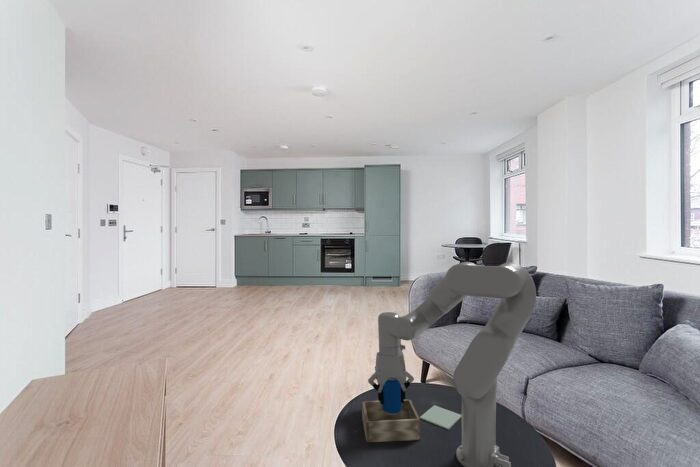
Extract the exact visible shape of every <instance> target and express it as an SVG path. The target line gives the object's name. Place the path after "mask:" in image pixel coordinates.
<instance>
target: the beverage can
mask: <svg viewBox="0 0 700 467" xmlns="http://www.w3.org/2000/svg"><path fill="white" fill-rule="evenodd" d="M382 392H383V405H382V407H383V411H384V412H386V413H387V414H390V415H395V414H398V413H399V412H400V411H401V410H402V405H401V384H400V382H399V381H398V380H397V378H396V379H387V381H386V382H385V384H384V385H383V389H382Z"/></svg>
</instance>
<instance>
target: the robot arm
mask: <svg viewBox="0 0 700 467" xmlns="http://www.w3.org/2000/svg"><path fill="white" fill-rule="evenodd" d="M467 297H479V298H493V299H500V301H499V303H498V305H497V306H496V307H495V309H494V312H493V313H492V315H491V316H490V318H489V320H488V321H487V323H486V325H484V326H483V327H482V329H481V330H479V331H478V333H476V335H475V336H474V338H473V339H472V340H471V342H470V344H469V345H468V347H467V348H466V350H465V353H463V356H462V357H461V359H460V360H459V362H458V364H457V366H456V367H455V369H454V372H453V377H452V379H453V385H454V387H455V390H456V391H457V392H458V393H459V395H461V415H462V417H461V445H459V446H458V447H457V448H456V451H455V453H456V459H457V461H458V462H459V463H460V464H461V466H463V467H512V462H511V461H510V457H509V456H507V455H504V454H501V452H500V447H499V446H498V445H497V443H496V442H497V441H496V440H497V438H496V437H497V428H496V426H497V421H496V420H497V417H496V416H497V390H498V376H499V374H500V373H501V371H502V370H503V368H504V366H505V365H506V363H507V361H508V360H509V358H510V356H511V354H512V352H513V350H514V348H515V345H516V342H517V340H518V339H519V337H520V335H521V334H522V332H523V330H524V329H525V326H526V325H527V323H528V321H529V320H530V318H531V316H532V314H533V312H534V309H535V306H536V302H537V289H536V284H535V281H534V280H533V278H532V275H530V273H529V272H528V270H527V269H526V268H525V267H524V266H522V265H521V264H519V263H516V262H504V263H501V264H500V265H477V264H475V263H474V262H470V261H462V262H459V263H457V264H454V265H452V266H450V268H449V269H448V270H447V272H446V273H445V276H444V277H443V278H442V279H440V281H438V283H436V284H435V285H433V287H432V288H431V289H430V290H429V291H428V297H427V298H426V299H425V300H424V301H423V302H422V303H420V305H419V306H417V307H416V308H415V309H414V310H412V312H409V313H407V314H406V315H403V316H400V314H398V313H397V312H393V311H392V312H391V311H386V312H382V313H380V314H379V315H378V316H377V318H378V319H377V322H378V323H377V326H378V331H377V332H378V352H376V356H375V366H376V369H375V368H374V371H375V372H374V373H373V374H371V376H370V377H369V378H368V379H367V381H368V384H370V385H371V386H372V387H373V389H374V390H375V391H377V398H378V401H380V403H381V405H383V392H382V389H383V385H384V384H385V382H386V381H387V379H396V378H397V380H398V381H399V382H400V384H401V402H402V403H404V400H406V391H407V390H408V388H409V387H410V385H411V384H412V383H413V382H414V380H415V378H414V376H413V375H412V374H410V373H409V372H408V370H406V369H407V368H406V360H405V356H404V352H403V351H404V350H406V345H405V344H404V345H403V344H402V341H401V340H403V341H412V340H414V339H415V338H417V337H418V336H419V335H421V334H423V333H424V332H425V331H426V330H428V329H429V328H430V327H431V326H432V325H433V324H435V323H436V322H437V321H438V320H439V319H441V318H442V317H443V316H444V315H445V314H448V313H449V312H450V311H451V310H452V309H454V308H455V307H456V306H457V305H458V304H459V303H460V302H462V301H463V300H464V299H465V298H467ZM407 378H408V379H407ZM375 380H376V382H375Z"/></svg>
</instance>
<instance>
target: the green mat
mask: <svg viewBox="0 0 700 467" xmlns="http://www.w3.org/2000/svg"><path fill="white" fill-rule="evenodd" d="M419 418H420V420H423V421H426V422H428V423H431V424H433V425H436V426H438V427H441V428H443V429H446V430H447V431H449V430H450V429H451V428H452V427H453V426H454V425H455V424H456V423H457V422H458V421H459V420H460V419H462V414H461V413H457V412H454V411H452V410H448V409H446V408H443V407H440V406H438V405H435V404H434V405H433V406H432V407H430V408H429V409H428V410H427V411H425V412H424V413H423V414H421V416H419Z"/></svg>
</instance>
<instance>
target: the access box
mask: <svg viewBox="0 0 700 467" xmlns="http://www.w3.org/2000/svg"><path fill="white" fill-rule="evenodd" d="M401 405H402V410H401V411H400V412H399V413H398V414H395V415H390V414H387V413H386V412H384V411H383V407H382V405H381V403H380V401H377V400H362V401H361V417H362V418H361V420H362V425H363V430H364V435H365V436H364V437H365V440H366V443H382V442H399V441H401V442H402V441H420V440H421V419H420V416H419V414H418V412H417V409H416V408H415V406H414V404H413V402H412V400H411V399H406V398H405V399H404V403H402V402H401Z"/></svg>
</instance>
